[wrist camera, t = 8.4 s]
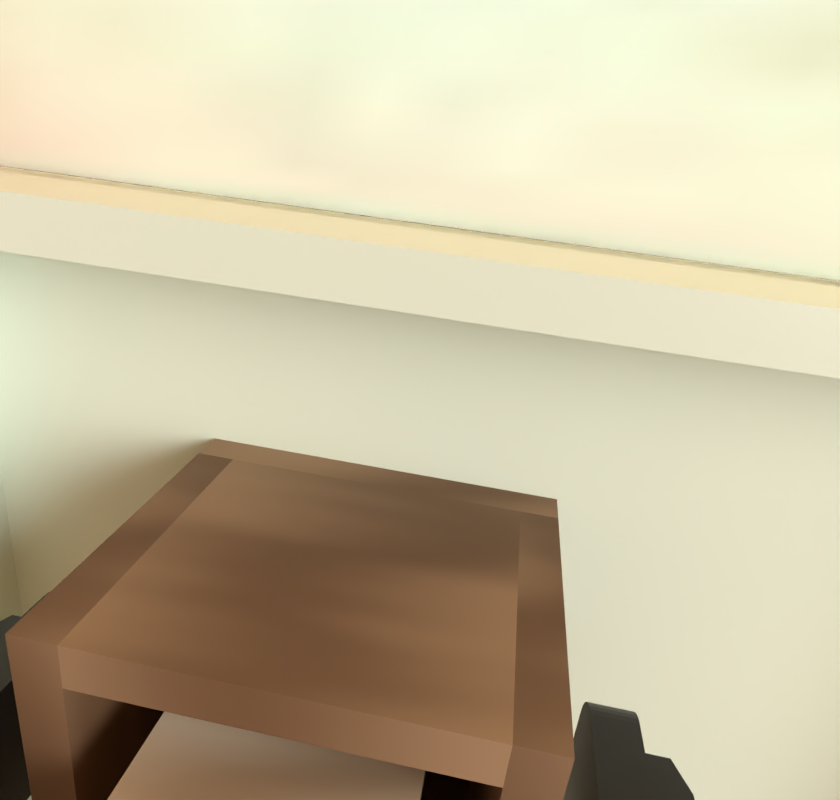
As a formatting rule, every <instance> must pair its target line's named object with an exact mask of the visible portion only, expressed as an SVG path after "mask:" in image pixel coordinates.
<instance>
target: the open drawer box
mask: <svg viewBox="0 0 840 800" xmlns="http://www.w3.org/2000/svg"><path fill="white" fill-rule="evenodd" d="M5 639H6V645H7V651H8V657H9V663H10V669H11V675H12V682H13V688H14V694H15V700H16V706H17V712H18V718H19V724H20V730H21V737H22V743H23V749H24V755H25V761H26V767H27V773H28V779H29V785H30V792H31V798H32V800H107V799H108V798H109V796H110V795H111V793H112V792H113V790H114V789H115V787H116V785H117V784H118V782H119V781H120V779H121V778H122V776H123V775H124V773H125V772H126V770H127V768H128V767H129V765H130V764H131V762H132V761H133V759H134V758H135V756H136V755H137V753H138V751H139V750H140V748H141V747H142V745H143V744H144V742H145V741H146V739H147V738H148V736H149V734H150V733H151V731H152V730H153V728H154V727H155V725H156V724H157V722H158V721H159V719H160V717H161V716H162V714H163V713H164V712H169V713H173V714H177V715H182V716H186V717H191V718H195V719H200V720H204V721H208V722H213V723H217V724H222V725H226V726H231V727H235V728H239V729H244V730H248V731H253V732H257V733H262V734H266V735H270V736H275V737H279V738H284V739H288V740H293V741H297V742H301V743H306V744H310V745H315V746H319V747H324V748H328V749H332V750H337V751H341V752H346V753H350V754H355V755H359V756H363V757H368V758H372V759H377V760H381V761H386V762H390V763H394V764H399V765H403V766H408V767H412V768H417V769H421V770H425V771H426V775H425V781H424V787H423V793H422V799H421V800H563V798H564V795H565V791H566V788H567V784H568V781H569V777H570V774H571V770H572V767H573V763H574V760H575V756H574V741H573V726H572V712H571V697H570V683H569V668H568V653H567V639H566V624H565V610H564V595H563V580H562V566H561V551H560V537H559V522H558V507H557V499H553V498H547V497H541V496H536V495H530V494H525V493H519V492H513V491H508V490H502V489H496V488H491V487H485V486H480V485H474V484H468V483H463V482H457V481H452V480H446V479H440V478H435V477H429V476H423V475H418V474H412V473H407V472H401V471H395V470H390V469H384V468H379V467H373V466H367V465H362V464H356V463H351V462H345V461H339V460H334V459H328V458H322V457H317V456H311V455H306V454H300V453H294V452H289V451H283V450H278V449H272V448H266V447H261V446H255V445H250V444H244V443H238V442H233V441H227V440H221V439H216V438H215V439H214V440H212V441H211V442H210V443H209V444H208V445H207V446H206V447H205V448H204V449H203V450H202V451H201V452H200V453H199V454H197V455H196V456H195V457H194V458H193V459H192V460H191V461H190V462H189V463H188V464H187V465H186V466H185V467H184V468H182V469H181V470H180V471H179V472H178V473H177V474H176V475H175V476H174V477H173V478H172V479H171V480H170V481H169V482H167V483H166V484H165V485H164V486H163V487H162V488H161V489H160V490H159V491H158V492H157V493H156V494H155V495H153V496H152V497H151V498H150V499H149V500H148V501H147V502H146V503H145V504H144V505H143V506H142V507H141V508H140V509H138V510H137V511H136V512H135V513H134V514H133V515H132V516H131V517H130V518H129V519H128V520H127V521H126V522H125V523H123V524H122V525H121V526H120V527H119V528H118V529H117V530H116V531H115V532H114V533H113V534H112V535H111V536H109V537H108V538H107V539H106V540H105V541H104V542H103V543H102V544H101V545H100V546H99V547H98V548H97V549H96V550H94V551H93V552H92V553H91V554H90V555H89V556H88V557H87V558H86V559H85V560H84V561H83V562H82V563H81V564H79V565H78V566H77V567H76V568H75V569H74V570H73V571H72V572H71V573H70V574H69V575H68V576H67V577H65V578H64V579H63V580H62V581H61V582H60V583H59V584H58V585H57V586H56V587H55V588H54V589H53V590H52V591H50V592H49V593H48V594H47V595H46V596H45V597H44V598H43V599H42V600H41V601H40V602H39V603H38V604H37V605H35V606H34V607H33V608H32V609H31V610H30V611H29V612H28V613H27V614H26V615H25V616H24V617H23V618H22V619H20V620H19V621H18V622H17V623H16V624H15V625H14V626H13V627H12V628H11V629H10V630H9V631H8V632H6V633H5Z"/></svg>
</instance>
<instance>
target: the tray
mask: <svg viewBox="0 0 840 800" xmlns="http://www.w3.org/2000/svg"><path fill="white" fill-rule="evenodd" d="M215 438H216V439H221V440H227V441H233V442H238V443H244V444H250V445H255V446H261V447H266V448H272V449H278V450H283V451H289V452H294V453H300V454H306V455H311V456H317V457H322V458H328V459H334V460H339V461H345V462H351V463H356V464H362V465H367V466H373V467H379V468H384V469H390V470H395V471H401V472H407V473H412V474H418V475H423V476H429V477H435V478H440V479H446V480H452V481H457V482H463V483H468V484H474V485H480V486H485V487H491V488H496V489H502V490H508V491H513V492H519V493H525V494H530V495H536V496H541V497H547V498H553V499H557V507H558V522H559V537H560V551H561V566H562V580H563V595H564V610H565V624H566V639H567V653H568V668H569V683H570V697H571V712H572V726H573V738H574V734H575V731H576V727H577V723H578V720H579V716H580V713H581V709H582V706H583V704H584V703H585V702H591V703H595V704H600V705H605V706H610V707H614V708H619V709H624V710H629V711H634V712H635V713H636V714H637V716H638V719H639V722H640V728H641V733H642V738H643V744H644V749H645V753H647V754H652V755H657V756H661V757H666V758H671V760H672V762H673V763H674V765H675V766H676V768H677V769H678V771H679V773H680V774H681V776H682V777H683V779H684V781H685V782H686V784H687V785H688V787H689V788H690V790H691V792H692V793H693V795H694V799H695V800H840V281H836V280H828V279H821V278H814V277H807V276H799V275H792V274H785V273H777V272H770V271H763V270H756V269H748V268H741V267H734V266H726V265H719V264H712V263H705V262H697V261H690V260H683V259H675V258H668V257H661V256H654V255H646V254H639V253H632V252H624V251H617V250H610V249H603V248H595V247H588V246H581V245H573V244H566V243H559V242H552V241H544V240H537V239H530V238H522V237H515V236H508V235H501V234H493V233H486V232H479V231H471V230H464V229H457V228H450V227H442V226H435V225H428V224H420V223H413V222H406V221H399V220H391V219H384V218H377V217H369V216H362V215H355V214H348V213H340V212H333V211H326V210H318V209H311V208H304V207H297V206H289V205H282V204H275V203H267V202H260V201H253V200H246V199H238V198H231V197H224V196H216V195H209V194H202V193H195V192H187V191H180V190H173V189H165V188H158V187H151V186H144V185H136V184H129V183H122V182H114V181H107V180H100V179H93V178H85V177H78V176H71V175H63V174H56V173H49V172H42V171H34V170H27V169H20V168H12V167H5V166H0V621H2V620H3V619H5V618H7V617H9V616H11V615H15V616H20V617H22V616H23V615H24V614H25V613H26V612H27V611H28V610H29V609H30V608H31V607H32V606H34V605H35V604H36V603H37V602H38V601H39V600H40V599H41V598H42V597H43V596H44V595H46V594H47V593H48V592H50V591H52V590H53V589H54V588H55V587H56V586H57V585H58V584H59V583H60V582H61V581H62V580H63V579H64V578H65V577H67V576H68V575H69V574H70V573H71V572H72V571H73V570H74V569H75V568H76V567H77V566H78V565H79V564H81V563H82V562H83V561H84V560H85V559H86V558H87V557H88V556H89V555H90V554H91V553H92V552H93V551H94V550H96V549H97V548H98V547H99V546H100V545H101V544H102V543H103V542H104V541H105V540H106V539H107V538H108V537H109V536H111V535H112V534H113V533H114V532H115V531H116V530H117V529H118V528H119V527H120V526H121V525H122V524H123V523H125V522H126V521H127V520H128V519H129V518H130V517H131V516H132V515H133V514H134V513H135V512H136V511H137V510H138V509H140V508H141V507H142V506H143V505H144V504H145V503H146V502H147V501H148V500H149V499H150V498H151V497H152V496H153V495H155V494H156V493H157V492H158V491H159V490H160V489H161V488H162V487H163V486H164V485H165V484H166V483H167V482H169V481H170V480H171V479H172V478H173V477H174V476H175V475H176V474H177V473H178V472H179V471H180V470H181V469H182V468H184V467H185V466H186V465H187V464H188V463H189V462H190V461H191V460H192V459H193V458H194V457H195V456H196V455H197V454H199V453H200V452H201V451H202V450H203V449H204V448H205V447H206V446H207V445H208V444H209V443H210V442H211V441H212V440H214V439H215ZM27 800H32V798H31V796H30V797H29V798H28V799H27Z"/></svg>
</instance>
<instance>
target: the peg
mask: <svg viewBox="0 0 840 800" xmlns="http://www.w3.org/2000/svg"><path fill="white" fill-rule="evenodd" d="M425 775H426V771H425V770H421V769H417V768H412V767H408V766H403V765H399V764H394V763H390V762H386V761H381V760H377V759H372V758H368V757H363V756H359V755H355V754H350V753H346V752H341V751H337V750H332V749H328V748H324V747H319V746H315V745H310V744H306V743H301V742H297V741H293V740H288V739H284V738H279V737H275V736H270V735H266V734H262V733H257V732H253V731H248V730H244V729H239V728H235V727H231V726H226V725H222V724H217V723H213V722H208V721H204V720H200V719H195V718H191V717H186V716H182V715H177V714H173V713H169V712H164V713H163V714H162V716H161V717H160V719H159V721H158V722H157V724H156V725H155V727H154V728H153V730H152V731H151V733H150V734H149V736H148V738H147V739H146V741H145V742H144V744H143V745H142V747H141V748H140V750H139V751H138V753H137V755H136V756H135V758H134V759H133V761H132V762H131V764H130V765H129V767H128V768H127V770H126V772H125V773H124V775H123V776H122V778H121V779H120V781H119V782H118V784H117V785H116V787H115V789H114V790H113V792H112V793H111V795H110V796H109V798H108V799H107V800H421V799H422V793H423V787H424V781H425Z"/></svg>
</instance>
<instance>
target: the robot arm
mask: <svg viewBox="0 0 840 800" xmlns="http://www.w3.org/2000/svg"><path fill="white" fill-rule="evenodd" d="M48 593H49V592H48ZM48 593H47V594H48ZM47 594H46V595H47ZM46 595H44V596H43V597H42V598H41V599H40V600H39V601H38V602H37V603H36V604H35V605H37V604H38V603H39V602H40V601H41V600H42V599H43V598H44V597H45V596H46ZM35 605H34V606H35ZM34 606H32V607H31V608H30V609H29V610H28V611H27V612H26V613H25V614H24V615H23V616H22V617H20V616H15V615H11V616H9V617H7V618H5V619H3V620H2V621H0V800H27V799H28V798H29V797H30V796H31V792H30V785H29V779H28V773H27V767H26V761H25V755H24V749H23V743H22V737H21V730H20V724H19V718H18V712H17V706H16V700H15V694H14V688H13V682H12V675H11V669H10V663H9V657H8V651H7V645H6V639H5V633H6V632H8V631H9V630H10V629H11V628H12V627H13V626H14V625H15V624H16V623H17V622H18V621H19V620H20V619H22V618H23V617H24V616H25V615H26V614H27V613H28V612H29V611H30V610H31V609H32V608H33V607H34ZM573 741H574V756H575V760H574V763H573V767H572V770H571V774H570V777H569V781H568V784H567V788H566V791H565V795H564V798H563V800H695V799H694V795H693V793H692V792H691V790H690V788H689V787H688V785H687V784H686V782H685V781H684V779H683V777H682V776H681V774H680V773H679V771H678V769H677V768H676V766H675V765H674V763H673V762H672V760H671V758H666V757H661V756H657V755H652V754H647V753H645V749H644V744H643V738H642V733H641V728H640V722H639V719H638V716H637V714H636V713H635V712H634V711H629V710H624V709H619V708H614V707H610V706H605V705H600V704H595V703H591V702H585V703H584V704H583V706H582V709H581V713H580V716H579V720H578V723H577V727H576V731H575V734H574V738H573Z"/></svg>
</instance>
